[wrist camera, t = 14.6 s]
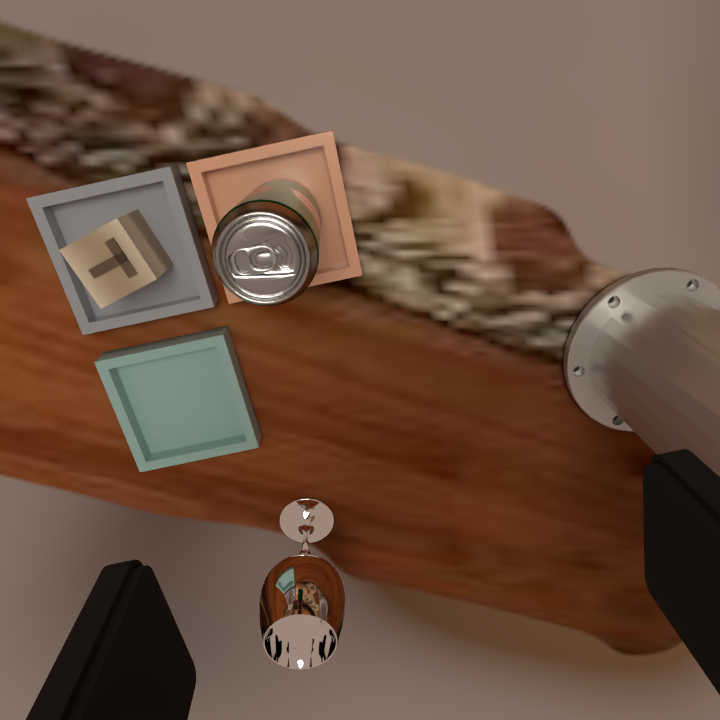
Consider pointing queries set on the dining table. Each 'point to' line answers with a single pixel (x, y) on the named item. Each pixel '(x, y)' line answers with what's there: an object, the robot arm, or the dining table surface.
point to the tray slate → (167, 221)
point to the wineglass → (302, 593)
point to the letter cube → (117, 258)
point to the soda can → (269, 244)
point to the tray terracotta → (292, 163)
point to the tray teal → (180, 399)
